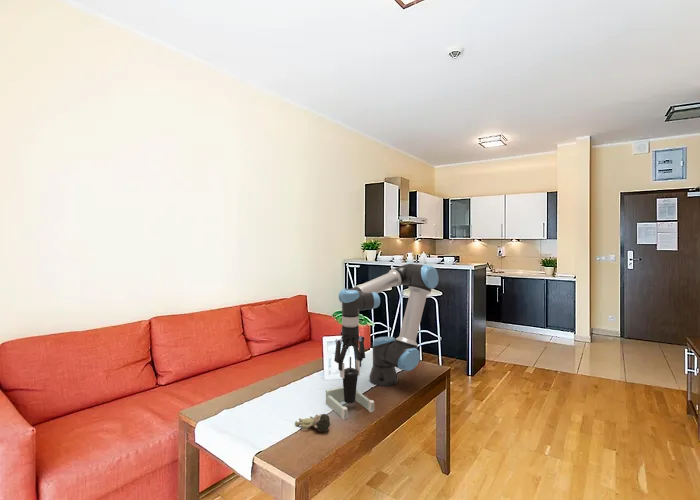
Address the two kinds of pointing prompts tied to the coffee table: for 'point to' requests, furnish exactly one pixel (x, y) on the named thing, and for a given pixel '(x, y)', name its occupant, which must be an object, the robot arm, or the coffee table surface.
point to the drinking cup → (350, 384)
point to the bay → (338, 395)
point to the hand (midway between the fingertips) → (349, 375)
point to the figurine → (315, 422)
